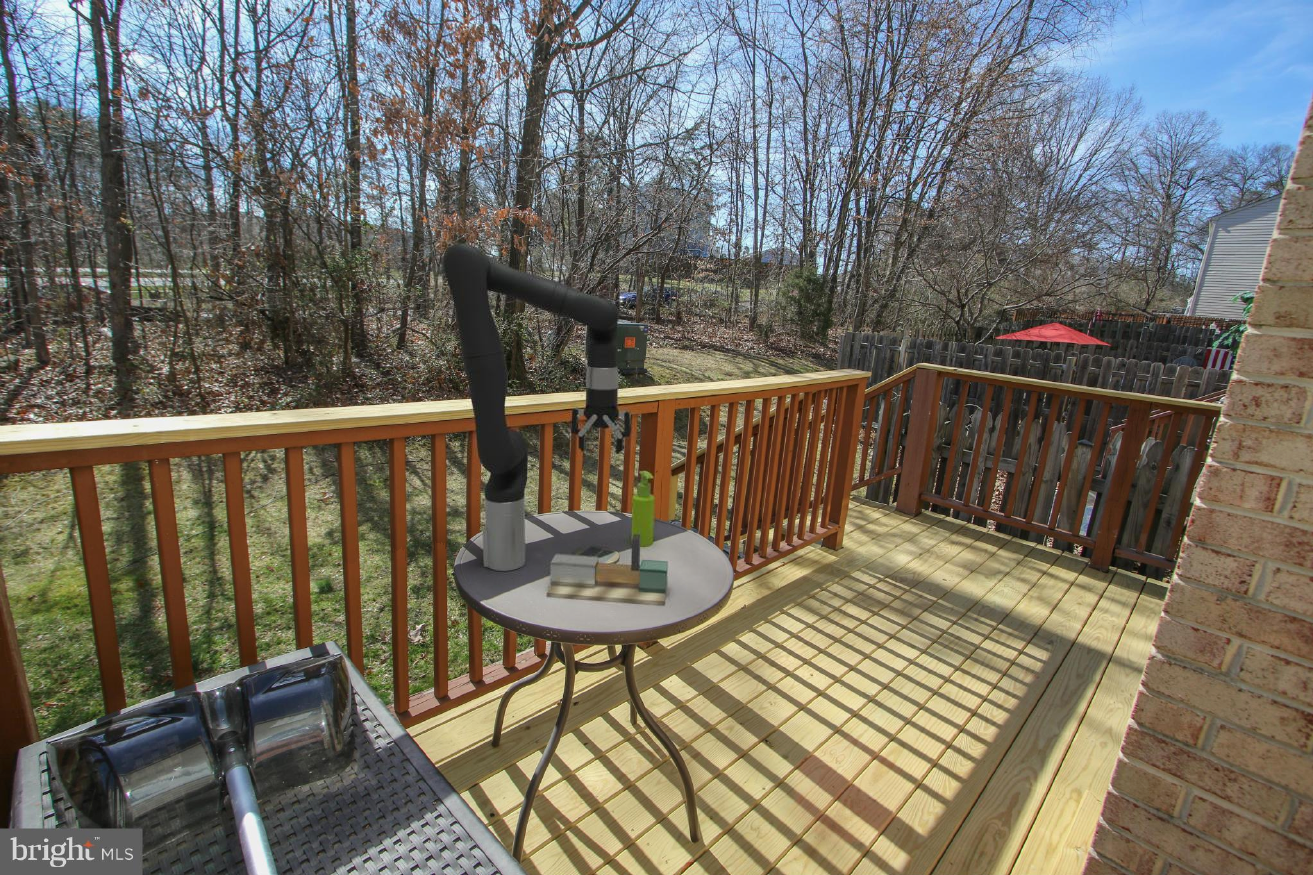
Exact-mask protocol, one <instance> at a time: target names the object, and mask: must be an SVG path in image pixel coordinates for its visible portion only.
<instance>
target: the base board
mask: <svg viewBox="0 0 1313 875" xmlns="http://www.w3.org/2000/svg"><path fill="white" fill-rule="evenodd" d="M668 577H669V576H667V582H668V579H669V578H668ZM667 588H668V585H667V586H666V590H667ZM666 595H667V592H666V593H665V594H662V593H649V592H639V583H625V582H611V581H597V583H596V586H595V588H580V587H567V586H553V585H551V584H550V586H549V588H548V589H547V591H546V597H547V598H557V599H560V598H562V599H570V600H571V599H572V600H585V601H599V602H610V603H612V602H613V603H623V604H624V603H628V604H636V605H637V604H638V605H641V604H642V605H653V606H665V602H666Z"/></svg>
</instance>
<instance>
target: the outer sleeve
mask: <svg viewBox="0 0 1313 875" xmlns="http://www.w3.org/2000/svg"><path fill="white" fill-rule="evenodd" d="M599 557H600V556H599V555H598V556H597V555H595V556H594V555H580V554H568V553H566V554H565V553H555V554H554V556H553V557H552V560H551V561H550V586H551V585H553V586H567V587H580V588H595V586H596V583H597V580H595V567H596V564H597V562H599ZM599 563H600V562H599Z"/></svg>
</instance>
